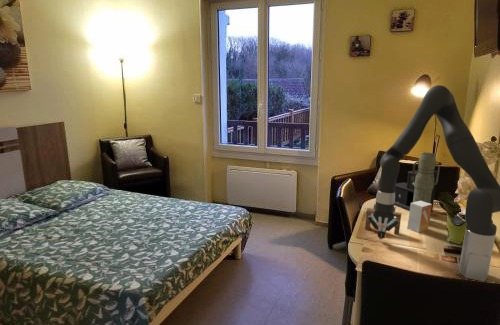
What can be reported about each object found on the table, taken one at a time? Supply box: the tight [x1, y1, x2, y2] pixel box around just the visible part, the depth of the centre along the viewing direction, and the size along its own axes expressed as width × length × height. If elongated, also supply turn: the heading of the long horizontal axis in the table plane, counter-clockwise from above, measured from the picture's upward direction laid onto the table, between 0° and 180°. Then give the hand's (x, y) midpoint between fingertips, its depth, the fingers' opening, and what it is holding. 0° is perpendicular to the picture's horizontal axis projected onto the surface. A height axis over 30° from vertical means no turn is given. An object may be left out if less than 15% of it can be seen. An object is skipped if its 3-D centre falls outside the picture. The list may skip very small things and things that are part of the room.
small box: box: [406, 201, 432, 233], centre depth 174 cm, size 8×6×13 cm
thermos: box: [412, 152, 441, 203], centre depth 183 cm, size 9×12×35 cm
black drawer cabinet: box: [394, 170, 437, 213], centre depth 204 cm, size 23×11×24 cm, turn 24°
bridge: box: [364, 207, 402, 236], centre depth 171 cm, size 3×15×10 cm, turn 68°
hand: (380, 238), depth 160 cm, fingers closed
